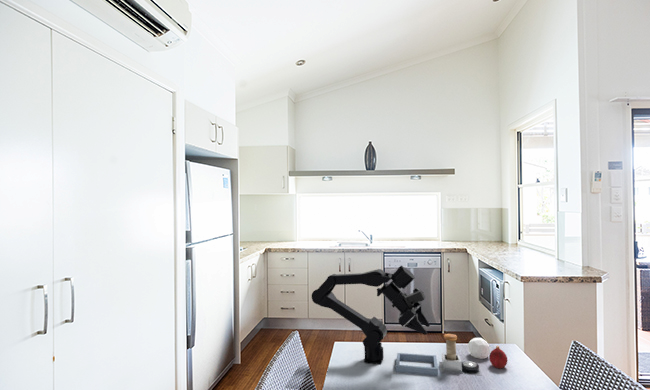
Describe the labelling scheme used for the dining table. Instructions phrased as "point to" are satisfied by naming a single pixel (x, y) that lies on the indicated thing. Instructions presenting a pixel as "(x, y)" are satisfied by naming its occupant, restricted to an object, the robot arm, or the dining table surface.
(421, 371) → the tray
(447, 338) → the orange-brown round-topped piece
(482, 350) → the ball
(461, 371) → the grey piece
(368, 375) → the dining table surface
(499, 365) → the onion
